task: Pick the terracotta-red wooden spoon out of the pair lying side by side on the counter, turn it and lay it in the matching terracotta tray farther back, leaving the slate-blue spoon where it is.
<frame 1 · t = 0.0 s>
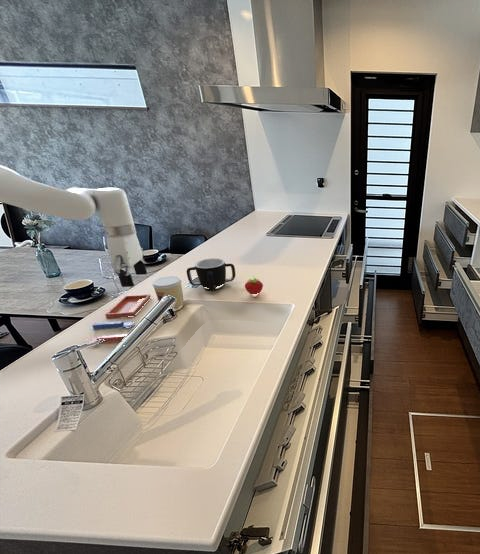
hand: (135, 280, 100), 20 cm above the counter, tool pointing down, fingers open, 9 cm apart
mug: (214, 287, 142), on the counter
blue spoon: (115, 327, 109), on the counter
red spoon: (108, 341, 101), on the counter
coffee cup: (173, 308, 123), on the counter
strawberry: (255, 297, 135), on the counter
red tray: (130, 308, 121), on the counter
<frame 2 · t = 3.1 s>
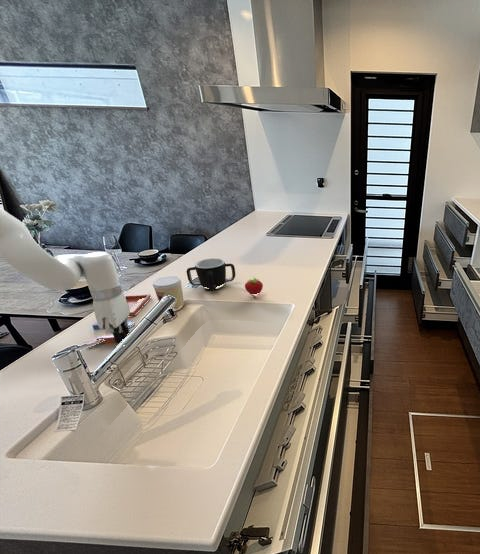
hand: (123, 339, 102), 0 cm above the counter, tool pointing down, fingers closed on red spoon, 1 cm apart
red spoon: (108, 341, 101), on the counter, touching gripper
everything else where it was.
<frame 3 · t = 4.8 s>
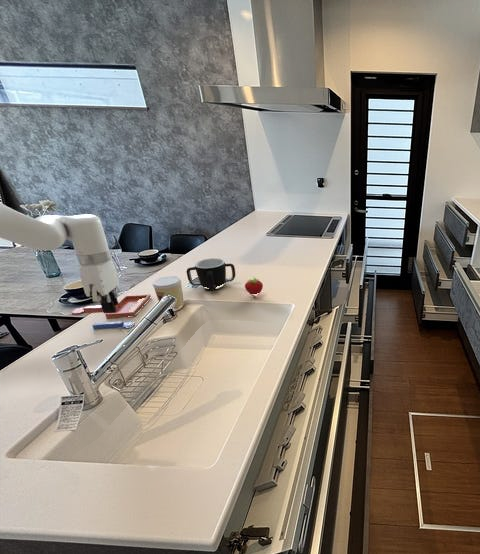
hand: (111, 310, 98), 12 cm above the counter, tool pointing down, fingers closed on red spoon, 1 cm apart
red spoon: (95, 311, 97), point 12 cm above the counter, touching gripper
everything else where it was.
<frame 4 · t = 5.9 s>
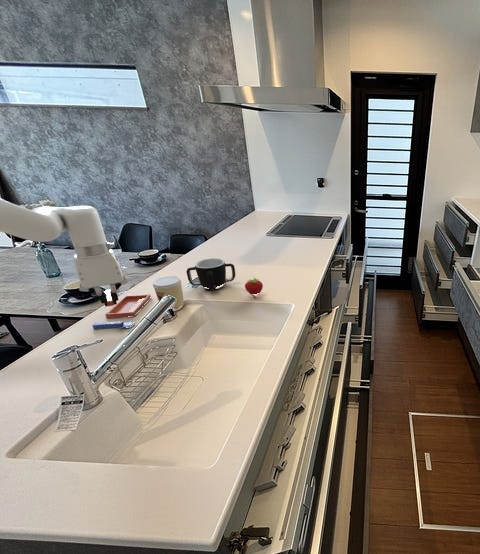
hand: (110, 303, 97), 14 cm above the counter, tool pointing down, fingers closed on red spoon, 1 cm apart
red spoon: (110, 298, 100), point 14 cm above the counter, touching gripper
everything else where it was.
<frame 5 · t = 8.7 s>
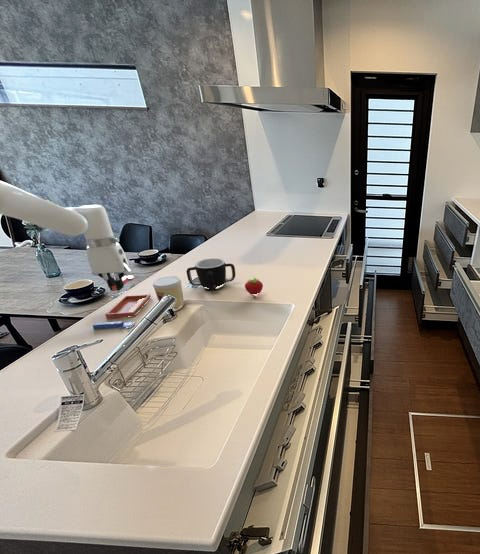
hand: (117, 288, 113), 11 cm above the counter, tool pointing down, fingers closed on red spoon, 1 cm apart
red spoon: (123, 283, 117), point 11 cm above the counter, touching gripper
everything else where it was.
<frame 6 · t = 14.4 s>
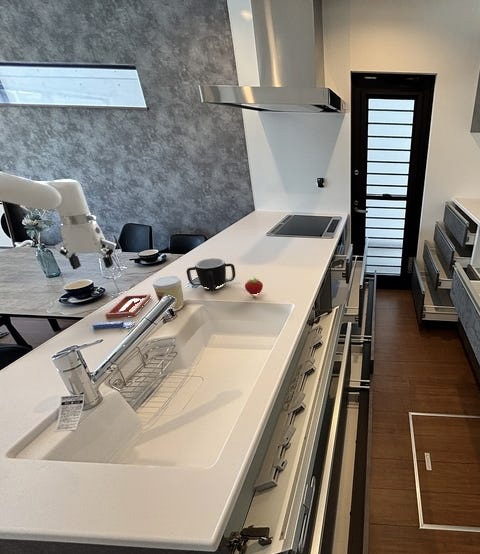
hand: (93, 267, 107), 20 cm above the counter, tool pointing down, fingers open, 9 cm apart
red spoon: (130, 307, 121), resting on red tray
everything else where it was.
at the end: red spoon inside the target area in the red tray (0.1 cm from its centre), point 0.5 cm above the red tray's base; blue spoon moved 0.0 cm from its start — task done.
